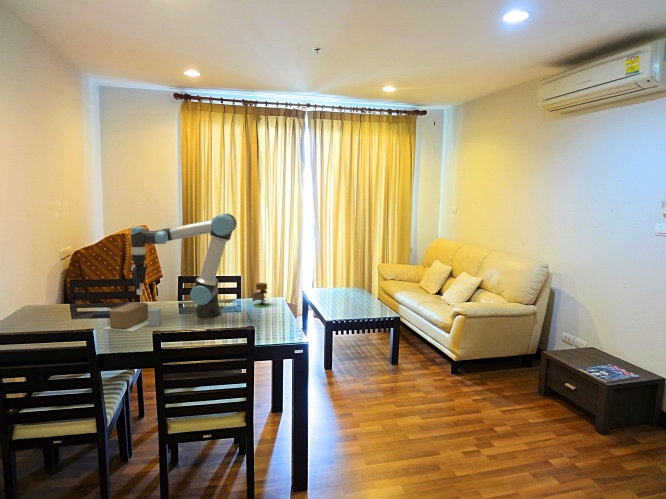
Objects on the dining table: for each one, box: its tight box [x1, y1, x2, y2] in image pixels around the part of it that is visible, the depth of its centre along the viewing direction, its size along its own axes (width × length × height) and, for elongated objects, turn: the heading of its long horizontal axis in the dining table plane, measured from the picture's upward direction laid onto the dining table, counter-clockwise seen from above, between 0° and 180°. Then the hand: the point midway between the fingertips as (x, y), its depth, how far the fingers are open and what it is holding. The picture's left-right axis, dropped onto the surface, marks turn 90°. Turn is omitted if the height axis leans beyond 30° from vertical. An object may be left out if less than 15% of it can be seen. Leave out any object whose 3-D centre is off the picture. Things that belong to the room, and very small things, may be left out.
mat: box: [102, 319, 149, 333], centre depth 234 cm, size 18×20×1 cm
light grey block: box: [148, 307, 162, 327], centre depth 236 cm, size 5×5×9 cm
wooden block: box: [109, 301, 149, 329], centre depth 235 cm, size 10×10×20 cm
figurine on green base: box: [252, 282, 270, 308], centre depth 284 cm, size 12×13×15 cm
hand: (139, 294), depth 242 cm, fingers closed
